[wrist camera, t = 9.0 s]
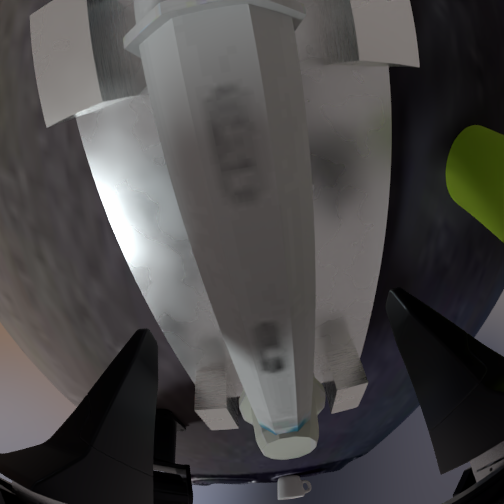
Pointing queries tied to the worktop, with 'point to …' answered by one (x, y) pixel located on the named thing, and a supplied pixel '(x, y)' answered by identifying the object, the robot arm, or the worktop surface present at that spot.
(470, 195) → the soap dispenser
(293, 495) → the cup
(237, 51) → the electric toothbrush handle
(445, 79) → the worktop surface
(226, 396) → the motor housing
